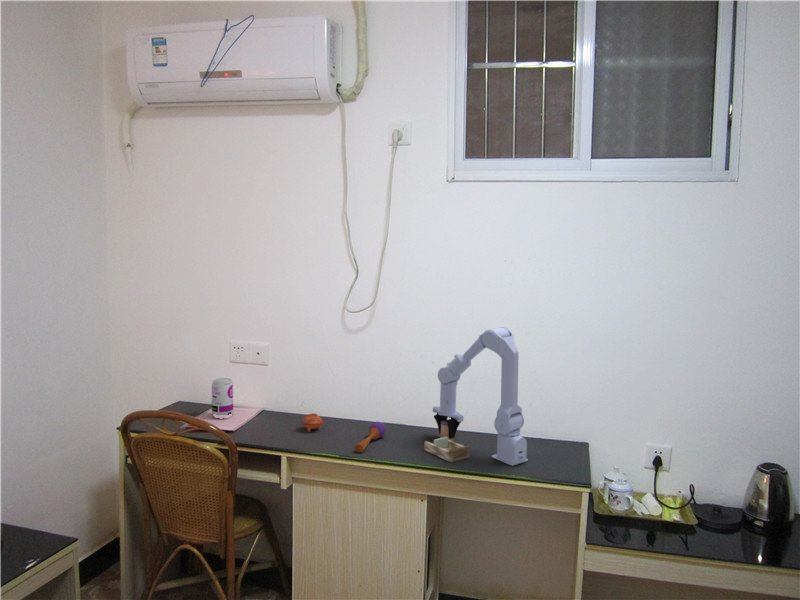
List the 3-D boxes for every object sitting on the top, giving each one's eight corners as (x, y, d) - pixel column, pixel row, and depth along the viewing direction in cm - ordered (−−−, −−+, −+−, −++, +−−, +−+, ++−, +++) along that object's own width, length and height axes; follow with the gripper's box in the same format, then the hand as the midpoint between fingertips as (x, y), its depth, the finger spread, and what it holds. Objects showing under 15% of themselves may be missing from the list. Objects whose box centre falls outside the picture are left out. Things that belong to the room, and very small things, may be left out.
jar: (456, 440, 212) (456, 422, 211) (446, 443, 209) (446, 424, 208) (447, 437, 216) (447, 418, 215) (437, 439, 213) (438, 421, 212)
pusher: (447, 446, 203) (448, 437, 202) (435, 449, 199) (435, 440, 199) (446, 445, 204) (446, 436, 203) (433, 449, 200) (433, 439, 200)
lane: (469, 457, 196) (469, 446, 196) (451, 462, 191) (451, 451, 191) (442, 445, 207) (442, 435, 207) (424, 449, 202) (424, 439, 202)
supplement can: (236, 414, 238) (236, 378, 236) (228, 420, 230) (228, 383, 228) (217, 413, 239) (216, 377, 237) (208, 419, 230) (208, 382, 229)
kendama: (349, 441, 199) (371, 419, 217) (352, 457, 199) (374, 435, 218) (365, 440, 196) (386, 418, 215) (368, 456, 197) (389, 434, 216)
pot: (296, 429, 220) (299, 411, 220) (311, 429, 225) (314, 412, 226) (309, 433, 214) (312, 415, 215) (325, 434, 220) (328, 416, 221)
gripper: (426, 396, 214) (425, 432, 216) (453, 405, 203) (452, 443, 204) (441, 393, 218) (440, 429, 220) (468, 402, 207) (466, 440, 208)
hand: (447, 435), depth 212 cm, fingers open, 5 cm apart
